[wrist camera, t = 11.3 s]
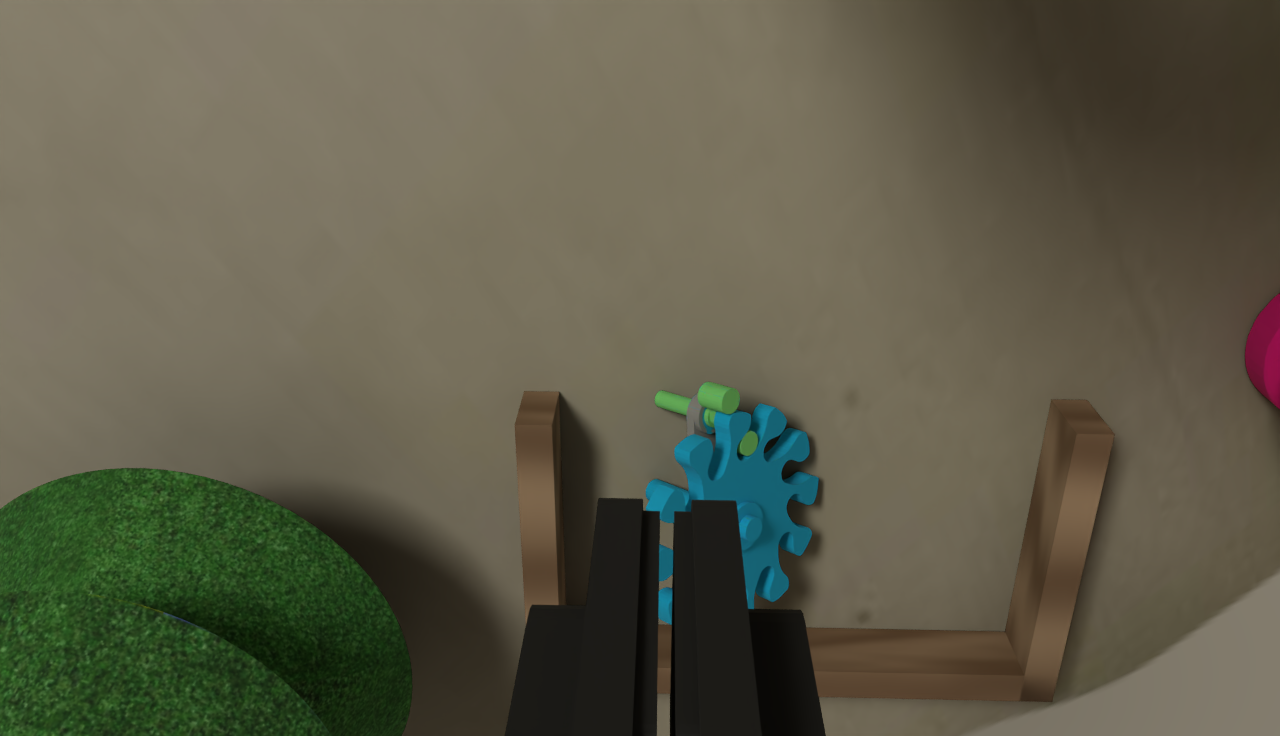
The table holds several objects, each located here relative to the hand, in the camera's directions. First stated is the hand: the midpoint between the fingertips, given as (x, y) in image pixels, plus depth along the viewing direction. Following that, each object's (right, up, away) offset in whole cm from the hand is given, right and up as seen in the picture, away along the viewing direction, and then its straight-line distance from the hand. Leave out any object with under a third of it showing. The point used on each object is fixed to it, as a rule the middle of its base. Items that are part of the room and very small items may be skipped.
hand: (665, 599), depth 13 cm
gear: (+4, -1, +33) cm, 33 cm away
